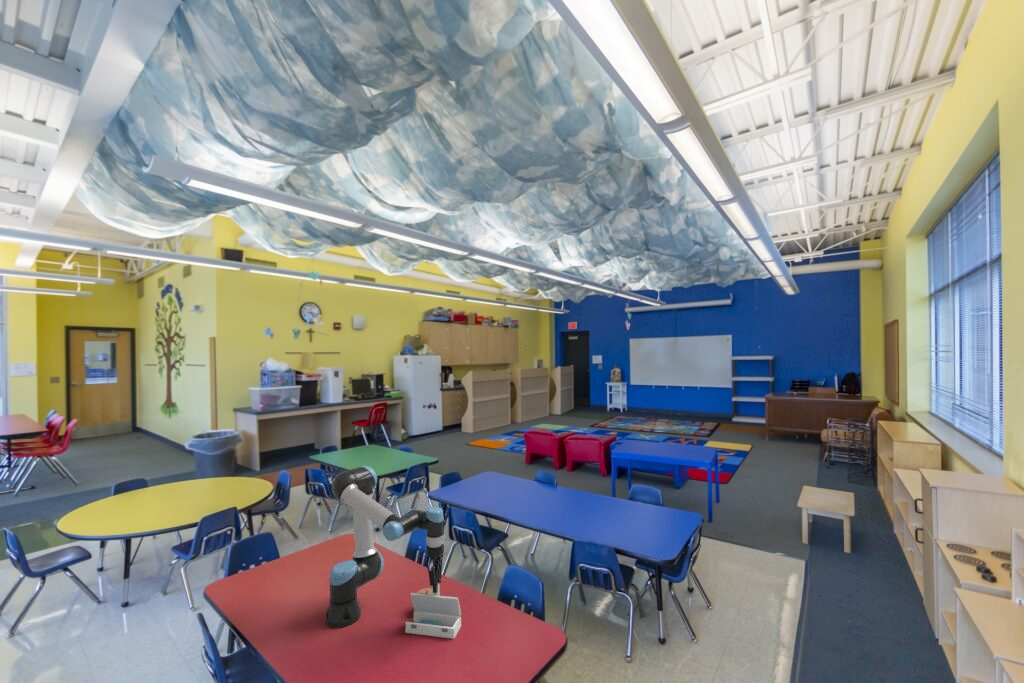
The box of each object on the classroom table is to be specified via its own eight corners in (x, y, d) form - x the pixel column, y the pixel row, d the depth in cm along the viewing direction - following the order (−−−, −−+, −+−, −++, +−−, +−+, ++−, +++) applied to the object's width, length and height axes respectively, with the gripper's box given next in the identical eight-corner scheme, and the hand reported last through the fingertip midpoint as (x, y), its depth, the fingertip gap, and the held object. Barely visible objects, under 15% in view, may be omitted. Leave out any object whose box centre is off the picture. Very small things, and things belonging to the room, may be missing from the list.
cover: (410, 594, 191) (411, 591, 193) (414, 611, 195) (415, 608, 196) (457, 599, 187) (458, 596, 188) (460, 616, 190) (461, 613, 191)
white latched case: (404, 633, 185) (404, 623, 186) (414, 620, 195) (414, 611, 195) (453, 639, 181) (453, 629, 181) (461, 626, 190) (461, 616, 190)
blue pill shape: (416, 627, 189) (417, 619, 190) (419, 626, 191) (421, 618, 192) (437, 631, 186) (438, 622, 187) (440, 629, 189) (441, 621, 190)
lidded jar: (433, 618, 197) (433, 596, 197) (411, 615, 199) (411, 594, 199) (442, 605, 207) (442, 585, 208) (421, 603, 209) (421, 583, 210)
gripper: (437, 551, 185) (438, 607, 184) (448, 539, 198) (449, 591, 197) (421, 550, 187) (422, 606, 186) (432, 538, 200) (433, 590, 198)
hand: (436, 598), depth 191 cm, fingers closed
